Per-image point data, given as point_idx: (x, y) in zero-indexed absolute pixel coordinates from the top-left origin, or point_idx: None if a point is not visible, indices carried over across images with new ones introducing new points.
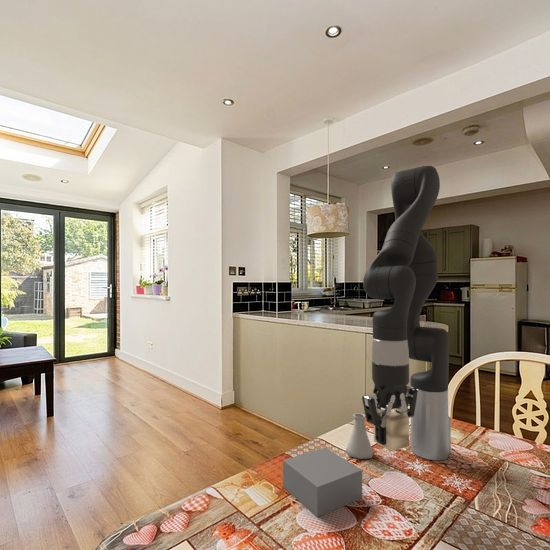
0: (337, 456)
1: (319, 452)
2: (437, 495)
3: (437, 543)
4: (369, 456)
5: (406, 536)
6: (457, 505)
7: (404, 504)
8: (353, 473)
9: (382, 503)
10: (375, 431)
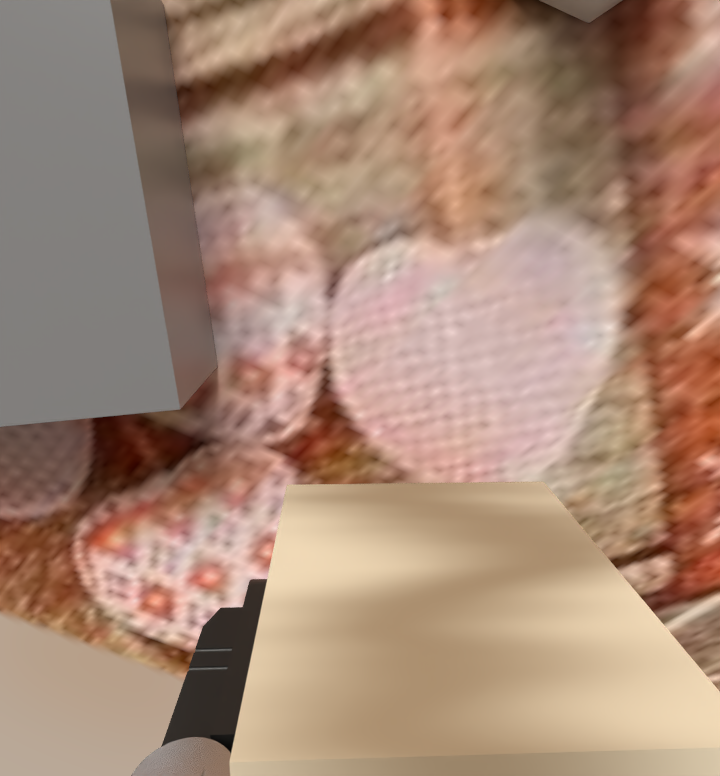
0: (112, 140)
1: None
2: (587, 514)
3: None
4: (586, 11)
5: None
6: None
7: None
8: (91, 417)
9: (285, 448)
10: (182, 694)
